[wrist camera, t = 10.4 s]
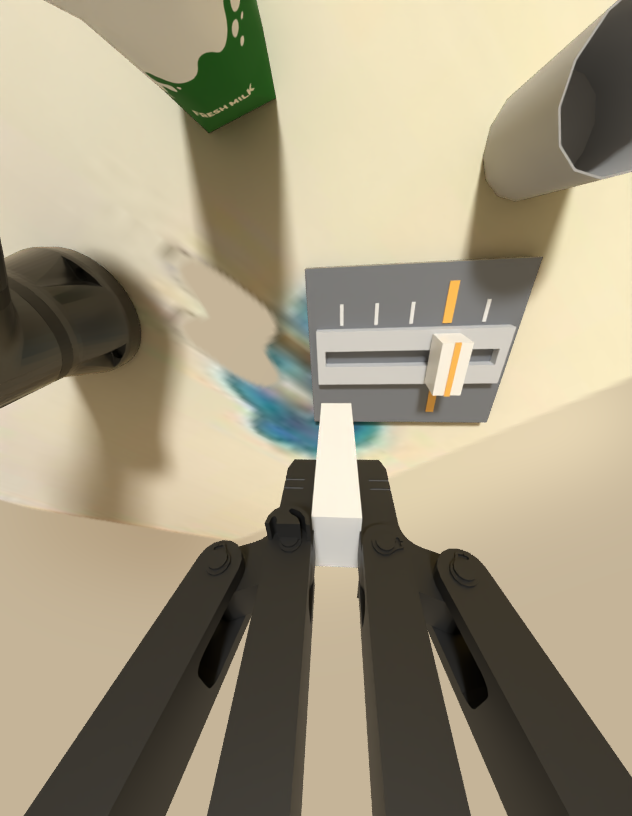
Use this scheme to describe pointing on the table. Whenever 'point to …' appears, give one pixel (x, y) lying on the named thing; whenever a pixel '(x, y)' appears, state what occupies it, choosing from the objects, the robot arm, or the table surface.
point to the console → (412, 334)
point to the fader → (448, 363)
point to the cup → (568, 116)
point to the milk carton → (189, 50)
